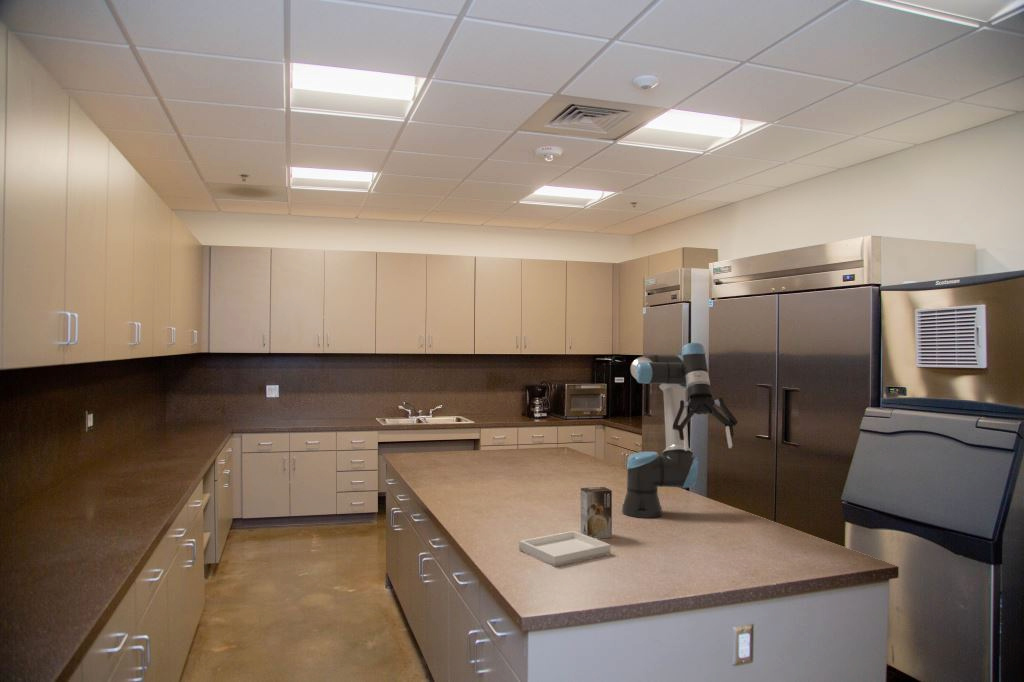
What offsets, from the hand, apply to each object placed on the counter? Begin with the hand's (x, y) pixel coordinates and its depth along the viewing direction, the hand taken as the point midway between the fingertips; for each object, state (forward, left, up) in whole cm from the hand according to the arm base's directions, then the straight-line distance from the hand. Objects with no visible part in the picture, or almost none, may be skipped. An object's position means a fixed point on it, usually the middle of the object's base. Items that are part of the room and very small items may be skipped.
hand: (708, 448), depth 208 cm
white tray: (-23, -39, -33) cm, 56 cm away
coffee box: (-31, -19, -33) cm, 49 cm away
